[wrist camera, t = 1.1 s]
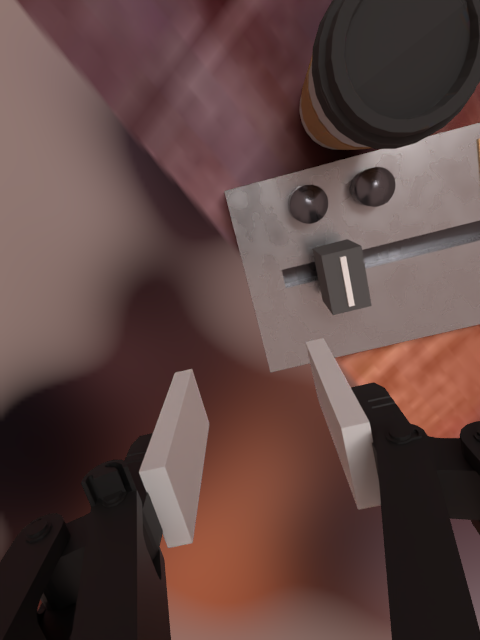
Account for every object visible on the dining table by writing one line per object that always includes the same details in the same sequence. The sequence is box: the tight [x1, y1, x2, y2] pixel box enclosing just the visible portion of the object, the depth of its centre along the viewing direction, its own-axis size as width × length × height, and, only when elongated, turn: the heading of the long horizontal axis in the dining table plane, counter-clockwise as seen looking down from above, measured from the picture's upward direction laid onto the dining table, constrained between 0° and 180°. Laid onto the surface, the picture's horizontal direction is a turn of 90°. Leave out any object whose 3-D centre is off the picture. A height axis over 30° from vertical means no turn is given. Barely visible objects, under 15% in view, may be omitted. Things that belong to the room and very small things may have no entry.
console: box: [224, 123, 480, 372], centre depth 34 cm, size 16×28×4 cm, turn 104°
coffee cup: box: [299, 0, 480, 150], centre depth 26 cm, size 8×8×15 cm
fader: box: [312, 239, 372, 315], centre depth 33 cm, size 4×3×7 cm, turn 14°
